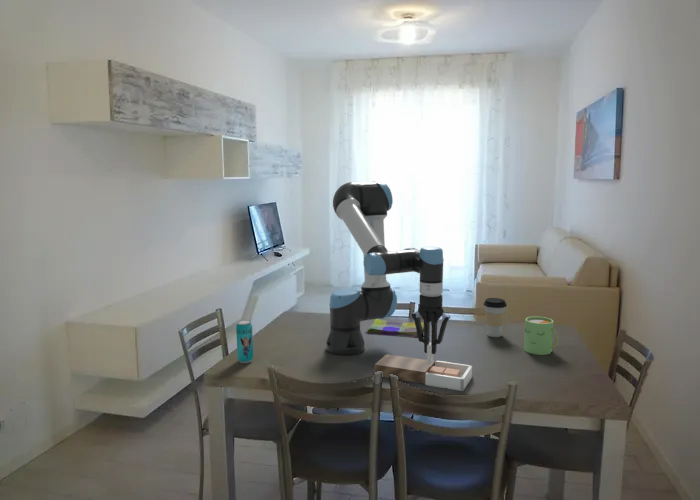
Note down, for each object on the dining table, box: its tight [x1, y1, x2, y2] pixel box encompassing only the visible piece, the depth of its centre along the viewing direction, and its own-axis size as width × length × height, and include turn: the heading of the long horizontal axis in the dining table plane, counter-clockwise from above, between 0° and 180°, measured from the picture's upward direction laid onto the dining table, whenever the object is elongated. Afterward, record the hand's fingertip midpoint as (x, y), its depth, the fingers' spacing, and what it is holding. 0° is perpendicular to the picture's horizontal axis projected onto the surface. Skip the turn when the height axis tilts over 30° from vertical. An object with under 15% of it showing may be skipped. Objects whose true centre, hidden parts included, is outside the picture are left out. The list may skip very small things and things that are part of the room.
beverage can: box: [235, 319, 254, 364], centre depth 203 cm, size 6×6×15 cm
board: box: [374, 353, 436, 385], centre depth 190 cm, size 18×11×4 cm, turn 65°
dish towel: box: [364, 318, 424, 338], centre depth 241 cm, size 18×24×3 cm
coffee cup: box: [483, 297, 508, 338], centre depth 230 cm, size 9×9×15 cm
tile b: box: [443, 368, 460, 377], centre depth 183 cm, size 4×4×3 cm
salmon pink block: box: [429, 365, 446, 375], centre depth 185 cm, size 4×4×3 cm
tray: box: [424, 360, 474, 392], centre depth 183 cm, size 12×13×4 cm
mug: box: [523, 315, 559, 356], centre depth 211 cm, size 13×10×12 cm
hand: (430, 362), depth 186 cm, fingers closed
